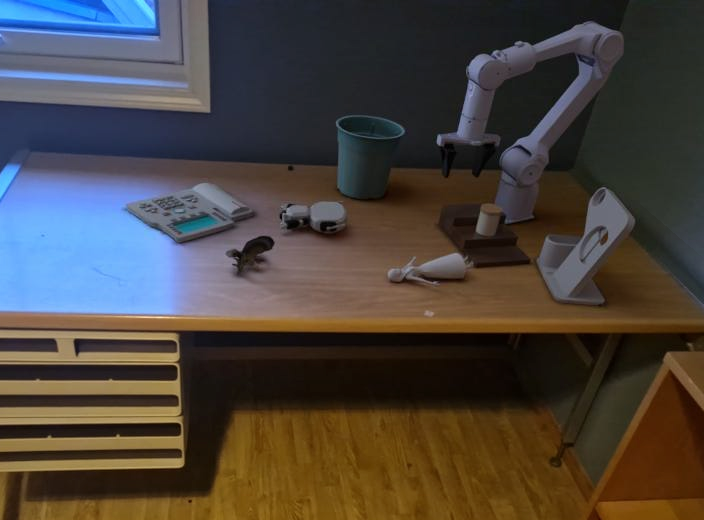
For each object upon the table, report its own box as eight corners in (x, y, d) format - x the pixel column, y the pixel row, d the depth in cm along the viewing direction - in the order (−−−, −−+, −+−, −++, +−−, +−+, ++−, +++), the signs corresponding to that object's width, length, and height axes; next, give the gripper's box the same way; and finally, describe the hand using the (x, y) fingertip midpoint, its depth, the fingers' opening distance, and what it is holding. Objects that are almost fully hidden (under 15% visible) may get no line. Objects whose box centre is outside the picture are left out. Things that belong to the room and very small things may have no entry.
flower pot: (369, 173, 175) (377, 111, 165) (407, 198, 164) (419, 133, 154) (316, 182, 168) (322, 118, 158) (353, 208, 157) (361, 141, 147)
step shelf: (437, 225, 154) (442, 205, 150) (487, 222, 157) (493, 202, 154) (475, 267, 139) (481, 246, 136) (529, 263, 142) (536, 242, 139)
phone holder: (534, 258, 144) (560, 180, 133) (580, 262, 144) (609, 184, 133) (555, 302, 130) (586, 218, 119) (606, 306, 130) (641, 222, 119)
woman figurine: (485, 268, 129) (400, 281, 125) (481, 287, 132) (398, 300, 128) (458, 240, 138) (378, 251, 134) (455, 258, 141) (376, 270, 137)
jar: (486, 225, 149) (492, 202, 145) (500, 234, 145) (507, 210, 142) (470, 228, 146) (476, 205, 143) (484, 237, 143) (491, 214, 140)
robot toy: (278, 240, 143) (347, 241, 143) (277, 221, 140) (348, 221, 140) (280, 215, 153) (345, 216, 153) (280, 197, 150) (346, 197, 150)
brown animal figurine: (263, 278, 127) (283, 251, 132) (243, 248, 123) (264, 221, 129) (235, 285, 131) (255, 259, 137) (215, 256, 128) (236, 231, 134)
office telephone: (211, 177, 159) (263, 208, 148) (211, 188, 160) (262, 219, 149) (124, 198, 146) (174, 233, 135) (125, 209, 147) (174, 245, 136)
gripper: (452, 121, 138) (438, 183, 146) (513, 122, 141) (496, 182, 150) (438, 110, 143) (425, 171, 151) (497, 111, 147) (482, 170, 155)
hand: (459, 176), depth 151 cm, fingers open, 7 cm apart
